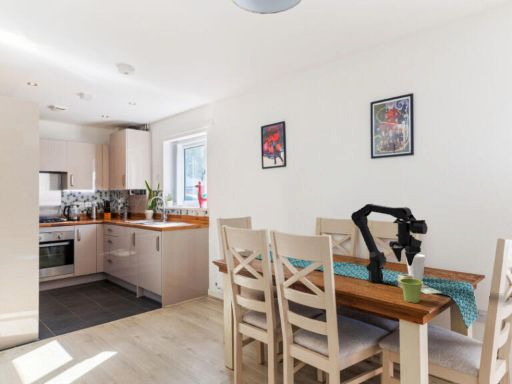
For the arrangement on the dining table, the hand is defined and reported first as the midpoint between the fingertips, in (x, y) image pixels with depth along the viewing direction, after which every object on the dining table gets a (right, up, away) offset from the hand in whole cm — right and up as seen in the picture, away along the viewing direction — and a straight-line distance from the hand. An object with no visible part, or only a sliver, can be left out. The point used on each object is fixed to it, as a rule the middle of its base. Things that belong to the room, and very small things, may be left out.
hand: (404, 263), depth 165 cm
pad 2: (+9, -12, -7) cm, 16 cm away
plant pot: (-6, -12, -20) cm, 24 cm away
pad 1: (+7, -12, +2) cm, 14 cm away
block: (+1, -12, 0) cm, 12 cm away
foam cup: (+13, -12, +14) cm, 22 cm away
